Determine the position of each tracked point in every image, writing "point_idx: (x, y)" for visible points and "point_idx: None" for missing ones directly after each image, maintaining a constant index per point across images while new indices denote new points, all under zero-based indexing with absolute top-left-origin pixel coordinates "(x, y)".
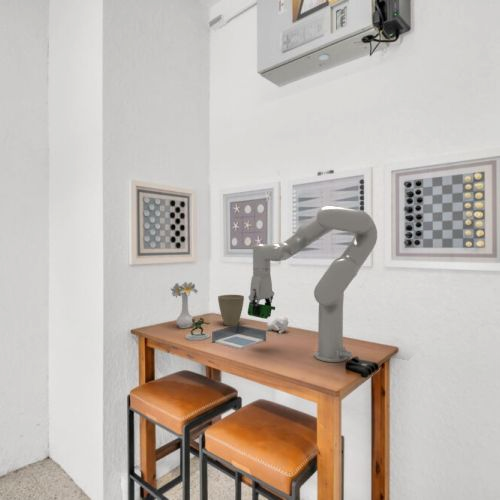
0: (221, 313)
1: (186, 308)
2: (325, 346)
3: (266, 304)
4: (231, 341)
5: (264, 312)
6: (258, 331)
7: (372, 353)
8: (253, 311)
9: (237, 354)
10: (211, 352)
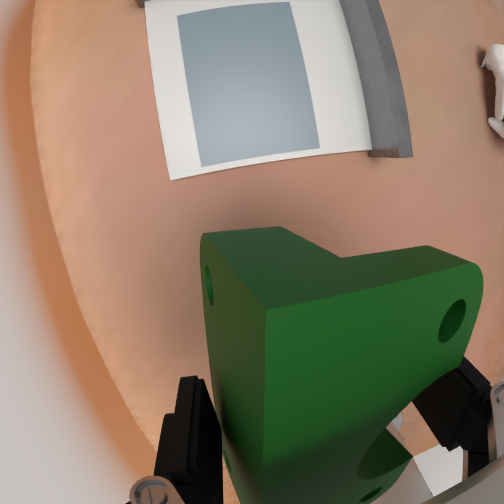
0: None
1: None
2: None
3: (451, 405)
4: (200, 57)
5: (236, 487)
6: (386, 109)
7: (434, 435)
8: (164, 427)
9: (114, 240)
10: (43, 141)
